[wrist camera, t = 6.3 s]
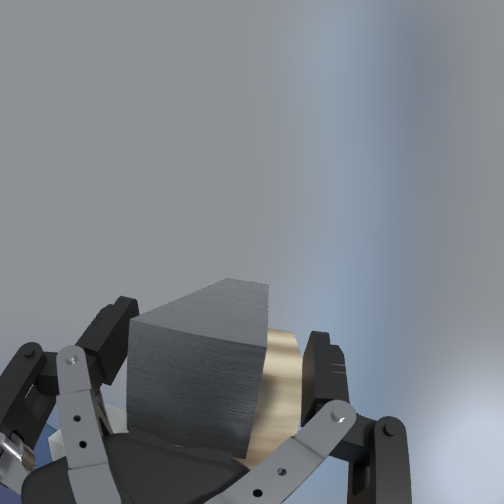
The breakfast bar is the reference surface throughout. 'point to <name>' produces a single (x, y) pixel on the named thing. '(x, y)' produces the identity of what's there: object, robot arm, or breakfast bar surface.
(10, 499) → the breakfast bar surface
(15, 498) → the breakfast bar surface
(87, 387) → the robot arm
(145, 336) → the steel bar
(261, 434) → the tall wooden block
